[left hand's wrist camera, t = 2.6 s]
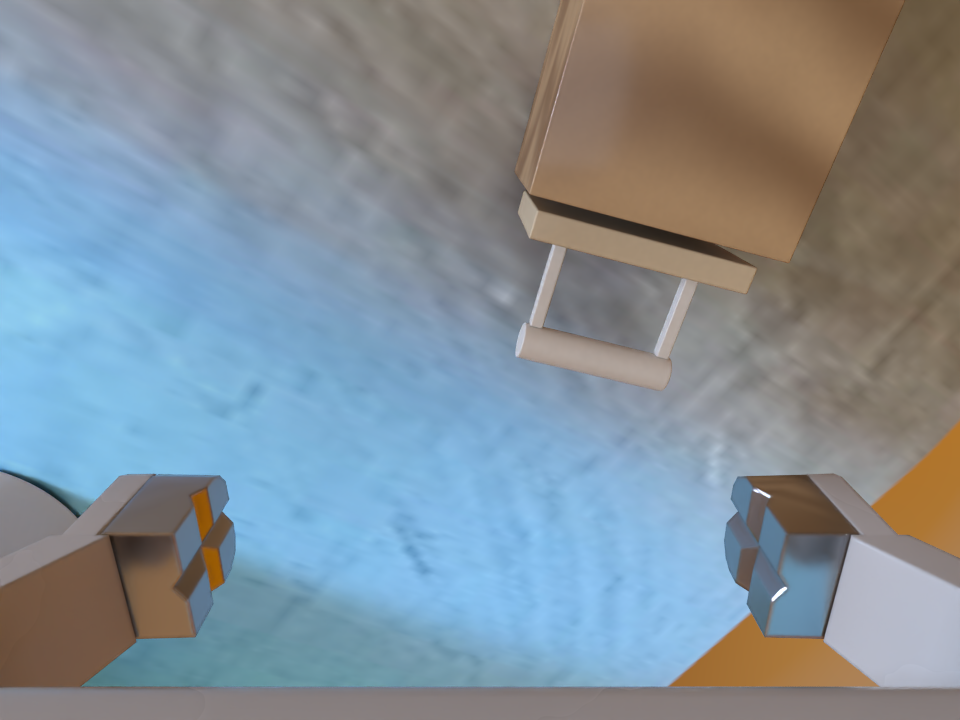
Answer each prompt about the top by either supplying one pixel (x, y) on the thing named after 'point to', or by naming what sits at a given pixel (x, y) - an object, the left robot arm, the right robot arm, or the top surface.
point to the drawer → (629, 247)
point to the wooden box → (701, 111)
